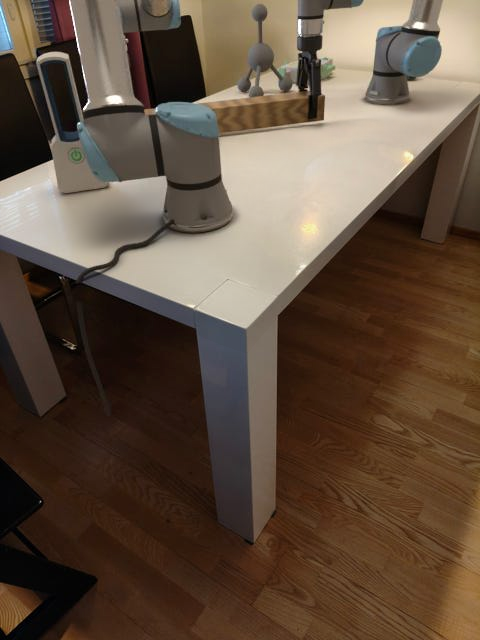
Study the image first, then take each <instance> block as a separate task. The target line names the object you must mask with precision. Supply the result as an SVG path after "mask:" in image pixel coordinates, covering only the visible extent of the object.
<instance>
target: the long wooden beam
mask: <svg viewBox="0 0 480 640" xmlns="http://www.w3.org/2000/svg"><path fill="white" fill-rule="evenodd" d="M309 95H310V90H307V91H301V92H299V91H294V92H283V93H277V94H268V95H263V96H258V97H249V96H248V97H242V98H234V99H223V100H215V101H208V102H207V101H206V102H198V103H197V102H196V104H200V105H203V106H206V107H208V108H210V109H211V110H212V111H213V112H214V113H215V115H216V117H217V124H218V131H219V133H220V134H226V133H234V132H235V133H236V132H242V131H250V130H260V129H265V128H266V129H267V128H275V127H282V126H291V125H297V124H298V125H299V124H306V123H315V122H321V121H325V107H326V106H325V105H326V95H325V94H324V93H321V96H318V107H317V118H314V119H308V108H309V98H308V96H309ZM156 108H157V107H155V108H146V109H145V108H144V111H145V115H154V114H156V112H155V111H156ZM148 117H149V116H148Z"/></svg>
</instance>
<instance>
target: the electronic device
mask: <svg viewBox="0 0 480 640" xmlns="http://www.w3.org/2000/svg"><path fill="white" fill-rule="evenodd" d="M55 63H57V64H62V65H63V68H64V72H65V77H66V81H67V85H68V89H69V93H70V97H71V101H72V104H73V105H72V106H73V109H74V113H75V117H76V121H77V124H78V123H79V122H80V121H84V117H83V109H82V107H81V102H80V99H79V94H78V89H77V86H76V81H75V77H74V73H73V69H72V64H71V59H70V56H69V54H68V53H65V52H62V51H49V52H46V53H42V54H41V55H40V56H38V57H37V59H36V62H35V64H36V67H37V71H38V75H39V79H40V82H41V86H42V90H43V93H44V96H45V101H46V104H47V108H48V111H49V115H50V119H51V122H52V126H53V129H54V133H55V135H54V136H53V137H52V139H51V144H50V150H51V155H52V156H51V157H52V161H53V166H54V173H55V178H56V184H57V188H58V190H59V191H60V192H62V193H63V194H69V193H76V192H77V193H78V192H83V191H90V190H98V189H103V188H107V187H108V184H109V183H110V182H106V183H104V182H100V181H98V180H97V179H96V178H95V177H94V175H93V173H92V171H91V169H90V167H89V165H88V162H87V159H86V157H85V154H84V151H83V148H82V145H81V142H80V138H79V133H78V130H75V131H64V130H63V127H62V122H61V119H60V115H59V111H58V108H57V104H56V100H55V96H54V93H53V90H52V85H51V81H50V78H49V74H48V73H49V72H48V71H47V66H46V65H49V64H55Z"/></svg>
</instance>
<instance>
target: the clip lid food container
mask: <svg viewBox="0 0 480 640" xmlns="http://www.w3.org/2000/svg"><path fill="white" fill-rule="evenodd" d="M317 59H321V81H322V80H324V79H326V78H328V77H330V75H332V74H333V71H336V65H333V61H334V59H333V58H328V57H317ZM277 70H278V72H279V73H280V74H281V75H282V77H284V76H288V77H290V78H291V79H292V82H293V83H295V84H296V81H297V70H298V59H297V60H295V61H292V62H289V61H285V62H284V63H283V65H280V67H279V68H278V69H277ZM277 79H278V82H279V78H278V77H277ZM307 85H309V80H308V82H307Z"/></svg>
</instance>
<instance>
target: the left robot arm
mask: <svg viewBox="0 0 480 640" xmlns="http://www.w3.org/2000/svg"><path fill="white" fill-rule="evenodd" d="M69 7H70V11H71V16H72V22H73V26H74V32H75V37H76V43H77V48H78V53H79V57H80V64H81V68H82V73H83V79H84V85H85V88H86V89H85V91H86V95H87V103H86V105H84V107H83V109H82V115H83V119H84V121H80V122H79V123H78V122H77V124H76V129H77V130H76V131H78V133H79V138H80V142H81V145H82V148H83V151H84V154H85V157H86V159H87V162H88V165H89V167H90V169H91V171H92V173H93V175H94V177H95V178H96V179H97V180H98V181H100V182H104V183H106V182H109V183H122V182H127V181H134V180H143V179H150V178H151V179H152V178H158V177H165V180H166V190H165V191H166V192H165V196H164V203H163V207H162V218H163V222H164V225H162V227H160V228H159V229H157V230H156V231H155V232H154V233H153V234H152V235H151V236H150V237H149V238H147V239H146V240H143V241H140V242H136V243H128V244H124V245H122V246H119V247H118V248H117V249H116V250H115V252H114V255H113V258H112V259H111V260H110V261H109V262H106V263H101V264H98V265H94V266H90V267H88V268H86V269H85V270H83V271H82V272H81V273H80V274H79V275H78V277H77V279H76V281H75V284H80V283H82V281H83V279H84V278H85V277H86V276H87V275H89V274H90V273H92V272H96V271H101V270H105V269H108V268H111V267H112V266H114V265H115V264H116V263H117V262H118V260H119V256H120V254H121V252H123V251H125V250H129V249H135V248H140V247H144V246H146V245H148V244H151V243H152V242H153V241H154V240H155V239H157V238H158V236H159V235H160V234H162V233H163V232H164V231H166V230H167V229H168V228H169V229H171V230H173V231H177V232H180V233H190V234H191V233H192V234H193V233H194V234H195V233H196V234H197V233H205V232H206V233H207V232H210V231H215V230H216V229H220V228H222V227H224V226H226V225H227V224H228V223H230V221H231V220H232V218H233V216H234V212H233V211H234V210H233V205H232V201H231V200H230V197H229V195H228V190H227V189H226V187H225V184H224V182H223V175H222V174H223V173H222V164H221V149H220V148H221V147H220V136H221V135H220V134H221V133H219V131H218V124H217V117H216V115H215V113H214V112H213V111H212V110H211V109H210V108H208V107H206V106H203V105H200V104H197V103H194V102H186V101H168V102H163V103H160V104H158V105H157V106H156V107H155V108H156V111H155V112H156V114H154V115H145V111H144V110H145V105H144V104H143V103H142V102H141V101H140V100H138V99H137V98H136V97H135V94H134V89H133V88H134V87H133V81H132V75H131V69H130V68H131V61H130V56H129V54H128V46H127V44H128V43H129V39H128V38H126V34H127V33H138V32H151V31H168V30H171V29H178V28H179V27H180V26H181V24H182V19H181V17H182V16H181V15H182V14H181V7H180V0H69ZM148 116H149V117H148ZM76 308H77V316H78V323H79V329H80V334H81V339H82V343H83V347H84V350H85V351H84V352H85V354H86V357H87V361H88V364H89V367H90V369H91V373H92V376H93V378H94V380H95V381H94V382H95V383H96V386H97V389H98V391H99V394H100V398H101V400H102V403H103V407H104V410H105V413H106V416H107V417H110V416H112V414H111V410H110V406H109V403H108V400H107V397H106V393H105V391H104V388H103V385H102V382H101V379H100V376H99V373H98V371H97V368H96V365H95V362H94V359H93V355H92V352H91V348H90V346H89V340H88V336H87V332H86V331H87V330H86V327H85V320H84V313H83V312H84V311H83V303H82V301H78V300H76Z"/></svg>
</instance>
